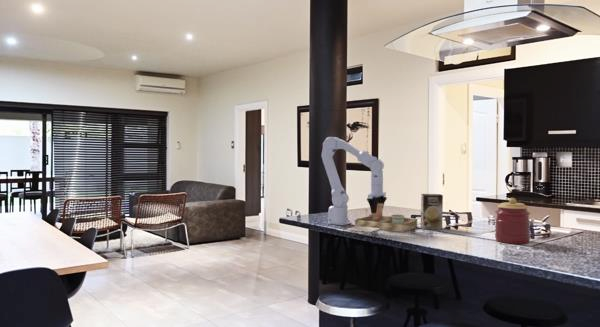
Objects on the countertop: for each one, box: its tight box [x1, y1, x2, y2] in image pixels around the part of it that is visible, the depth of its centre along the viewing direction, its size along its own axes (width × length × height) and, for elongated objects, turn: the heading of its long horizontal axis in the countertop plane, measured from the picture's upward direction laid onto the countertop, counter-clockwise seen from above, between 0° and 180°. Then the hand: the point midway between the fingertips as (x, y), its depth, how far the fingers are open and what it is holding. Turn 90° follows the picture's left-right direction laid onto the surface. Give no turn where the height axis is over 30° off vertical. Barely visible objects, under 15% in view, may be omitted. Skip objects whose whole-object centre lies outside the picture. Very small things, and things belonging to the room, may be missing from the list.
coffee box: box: [420, 193, 444, 230], centre depth 219 cm, size 9×6×16 cm
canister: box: [494, 197, 531, 245], centre depth 188 cm, size 13×13×18 cm
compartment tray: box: [354, 213, 418, 232], centre depth 224 cm, size 25×15×4 cm, turn 52°
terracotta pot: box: [371, 203, 384, 217], centre depth 226 cm, size 6×6×6 cm
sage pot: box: [391, 214, 405, 225], centre depth 220 cm, size 6×6×6 cm
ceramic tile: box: [347, 226, 381, 233], centre depth 216 cm, size 12×9×1 cm
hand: (376, 212), depth 226 cm, fingers closed on terracotta pot, 6 cm apart
